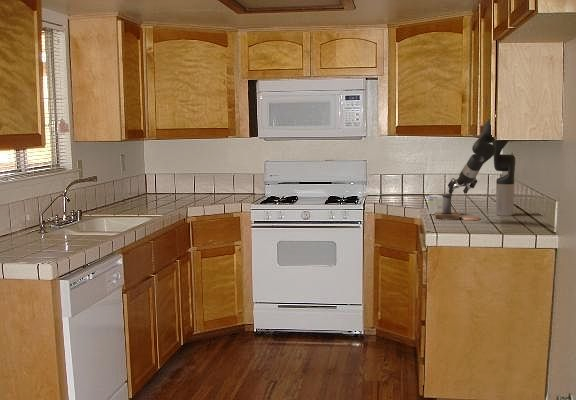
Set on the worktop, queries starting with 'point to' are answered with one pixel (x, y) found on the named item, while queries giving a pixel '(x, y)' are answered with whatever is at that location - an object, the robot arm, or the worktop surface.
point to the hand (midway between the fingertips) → (457, 192)
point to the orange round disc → (470, 218)
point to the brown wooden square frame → (447, 216)
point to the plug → (446, 203)
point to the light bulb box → (435, 204)
